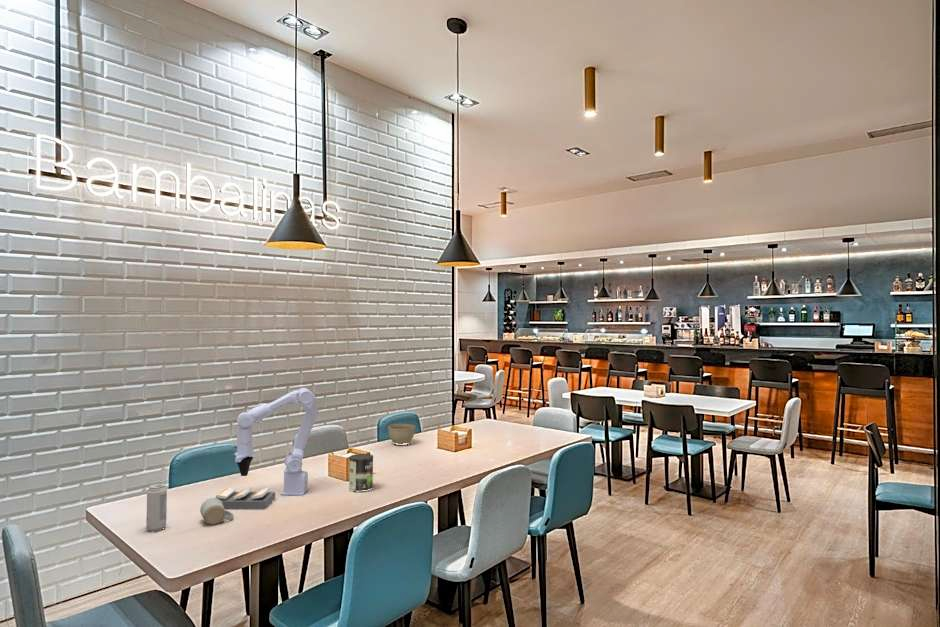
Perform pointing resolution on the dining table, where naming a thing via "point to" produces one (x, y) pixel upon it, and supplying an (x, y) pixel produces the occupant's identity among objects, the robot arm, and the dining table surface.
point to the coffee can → (361, 472)
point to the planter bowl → (401, 433)
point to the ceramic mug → (214, 511)
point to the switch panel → (248, 501)
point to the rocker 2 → (260, 493)
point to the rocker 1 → (225, 493)
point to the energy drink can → (156, 507)
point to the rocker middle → (242, 493)
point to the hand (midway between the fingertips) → (244, 475)
